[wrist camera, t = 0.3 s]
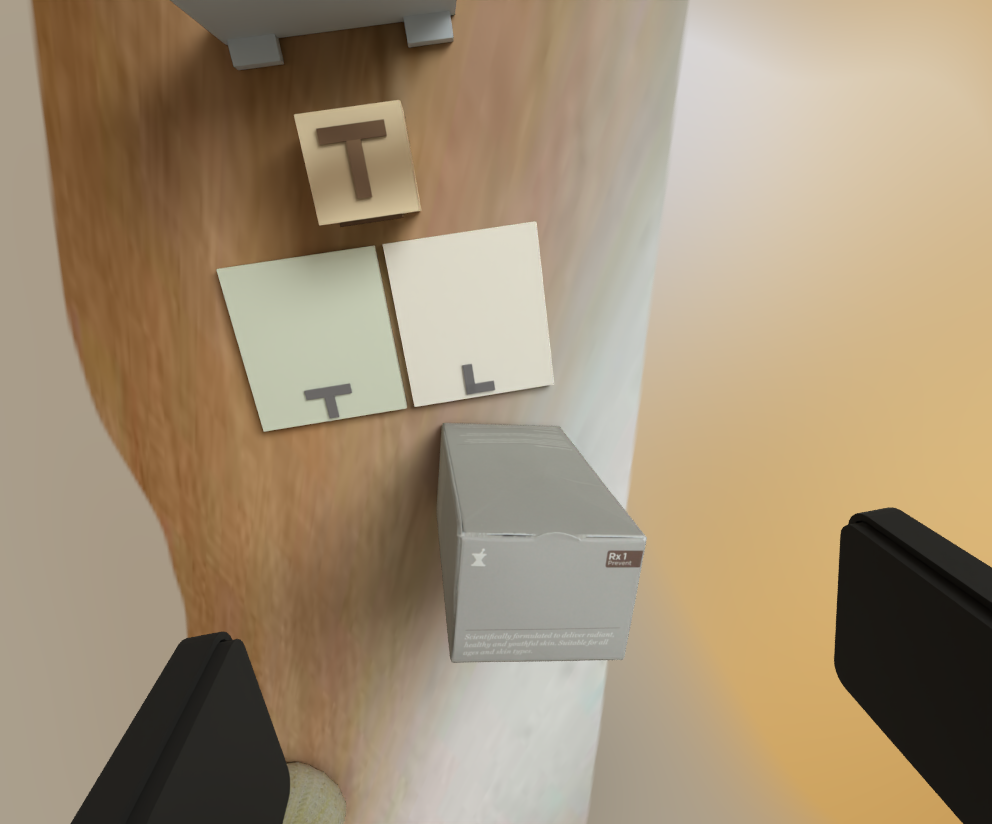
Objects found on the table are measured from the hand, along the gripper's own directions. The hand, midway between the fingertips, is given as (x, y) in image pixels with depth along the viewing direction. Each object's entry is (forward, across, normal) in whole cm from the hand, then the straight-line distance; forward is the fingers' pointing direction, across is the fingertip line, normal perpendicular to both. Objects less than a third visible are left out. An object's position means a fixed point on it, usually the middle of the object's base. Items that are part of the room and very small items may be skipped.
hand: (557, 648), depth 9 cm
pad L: (+29, 0, 0) cm, 29 cm away
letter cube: (+29, +4, -10) cm, 31 cm away
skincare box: (+29, -1, +10) cm, 31 cm away
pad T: (+29, +9, -1) cm, 30 cm away
